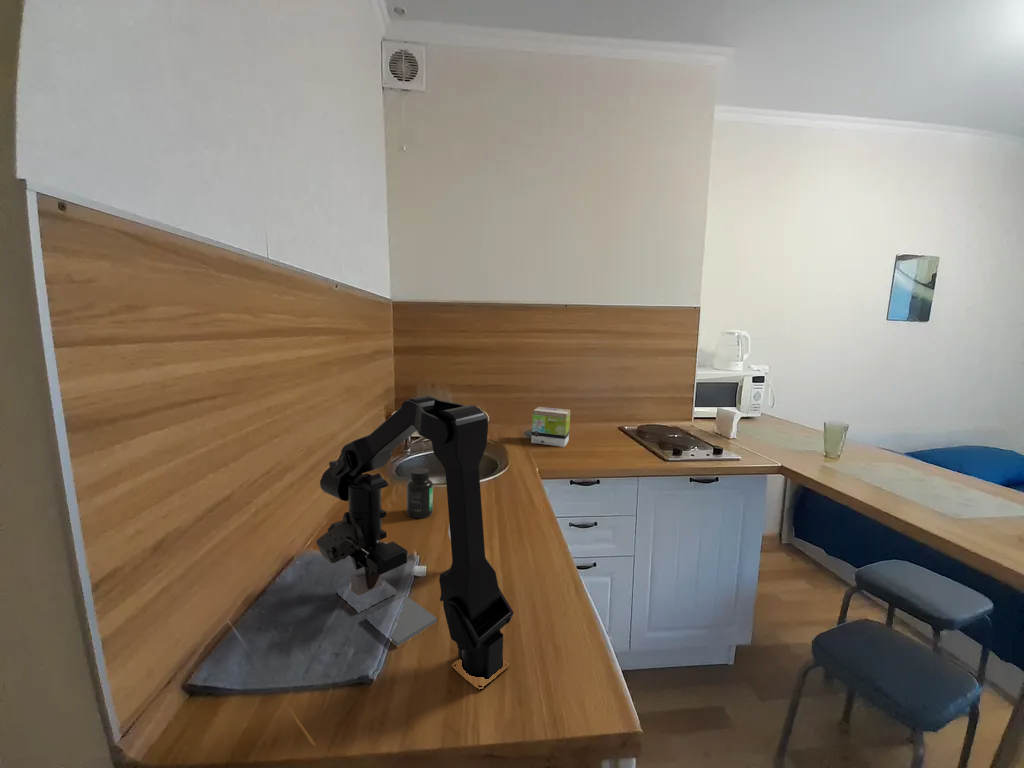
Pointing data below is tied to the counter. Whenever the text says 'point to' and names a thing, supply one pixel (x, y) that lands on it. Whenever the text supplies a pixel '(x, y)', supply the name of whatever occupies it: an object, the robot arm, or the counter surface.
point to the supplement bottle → (419, 494)
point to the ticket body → (411, 621)
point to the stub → (362, 582)
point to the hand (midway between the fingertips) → (366, 585)
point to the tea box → (550, 426)
